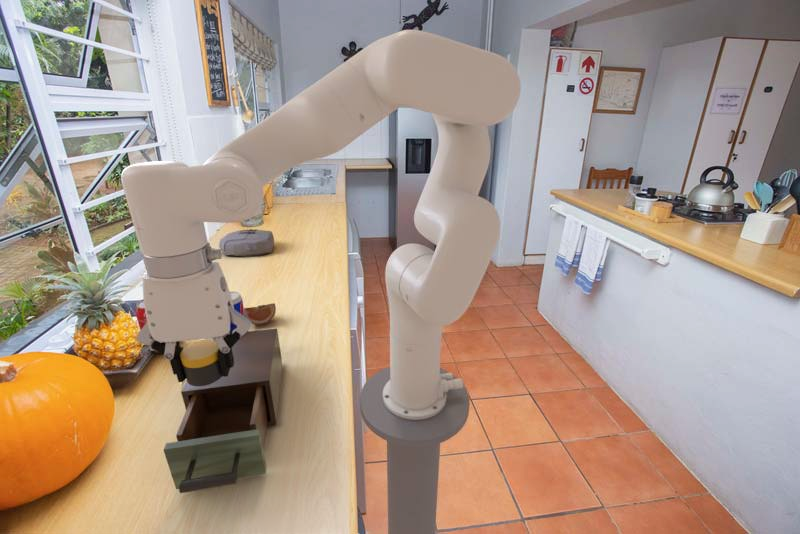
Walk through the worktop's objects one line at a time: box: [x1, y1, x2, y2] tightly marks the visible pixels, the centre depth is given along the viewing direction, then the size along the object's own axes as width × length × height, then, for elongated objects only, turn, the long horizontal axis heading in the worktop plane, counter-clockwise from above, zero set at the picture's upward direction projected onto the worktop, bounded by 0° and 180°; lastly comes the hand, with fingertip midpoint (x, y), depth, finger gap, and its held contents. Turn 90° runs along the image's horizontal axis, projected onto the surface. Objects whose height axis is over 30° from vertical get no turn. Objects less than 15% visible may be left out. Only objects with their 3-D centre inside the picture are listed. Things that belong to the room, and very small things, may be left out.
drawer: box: [163, 385, 269, 494], centre depth 61 cm, size 20×13×8 cm, turn 12°
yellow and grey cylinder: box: [180, 339, 222, 386], centre depth 56 cm, size 5×5×4 cm
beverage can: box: [229, 291, 248, 333], centre depth 85 cm, size 5×5×15 cm
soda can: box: [135, 298, 161, 354], centre depth 89 cm, size 7×7×12 cm
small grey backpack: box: [218, 228, 275, 257], centre depth 148 cm, size 15×8×20 cm
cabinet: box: [180, 327, 284, 427], centre depth 73 cm, size 17×14×10 cm
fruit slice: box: [244, 303, 277, 326], centre depth 100 cm, size 8×7×5 cm
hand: (205, 372), depth 57 cm, fingers closed on yellow and grey cylinder, 5 cm apart
